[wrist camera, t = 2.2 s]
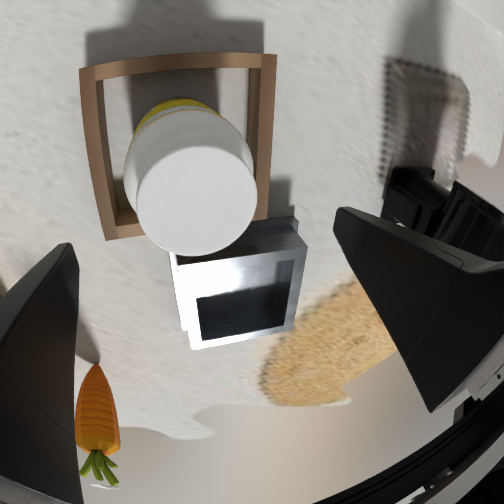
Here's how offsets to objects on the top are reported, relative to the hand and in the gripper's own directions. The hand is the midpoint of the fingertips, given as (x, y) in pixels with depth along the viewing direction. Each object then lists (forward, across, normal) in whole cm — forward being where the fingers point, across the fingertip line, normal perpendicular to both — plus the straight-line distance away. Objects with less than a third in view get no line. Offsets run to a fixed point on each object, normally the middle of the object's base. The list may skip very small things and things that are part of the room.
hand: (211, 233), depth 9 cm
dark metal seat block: (+13, -4, +13) cm, 19 cm away
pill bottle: (+13, 0, 0) cm, 13 cm away
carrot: (+13, +13, +24) cm, 30 cm away
